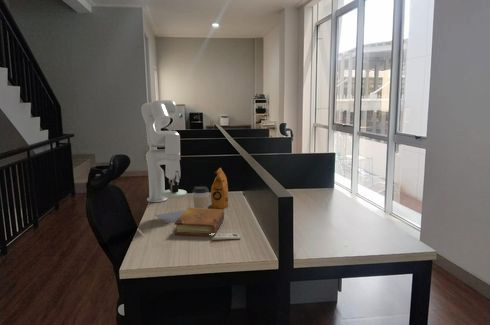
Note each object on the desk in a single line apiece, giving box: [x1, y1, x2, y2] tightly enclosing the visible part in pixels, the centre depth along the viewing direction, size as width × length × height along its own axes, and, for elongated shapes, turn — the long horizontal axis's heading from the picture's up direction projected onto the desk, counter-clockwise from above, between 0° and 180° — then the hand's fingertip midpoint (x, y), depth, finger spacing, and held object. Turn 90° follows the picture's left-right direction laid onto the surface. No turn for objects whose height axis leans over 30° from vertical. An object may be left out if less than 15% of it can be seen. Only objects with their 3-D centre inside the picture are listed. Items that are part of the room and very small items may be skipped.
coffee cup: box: [191, 185, 210, 209], centre depth 202 cm, size 9×9×15 cm
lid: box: [161, 182, 188, 199], centre depth 194 cm, size 13×13×6 cm
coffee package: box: [210, 167, 229, 210], centre depth 215 cm, size 10×12×22 cm
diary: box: [174, 207, 225, 237], centre depth 180 cm, size 23×19×6 cm
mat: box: [155, 210, 186, 224], centre depth 196 cm, size 16×16×1 cm
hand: (173, 191), depth 194 cm, fingers closed on lid, 3 cm apart
